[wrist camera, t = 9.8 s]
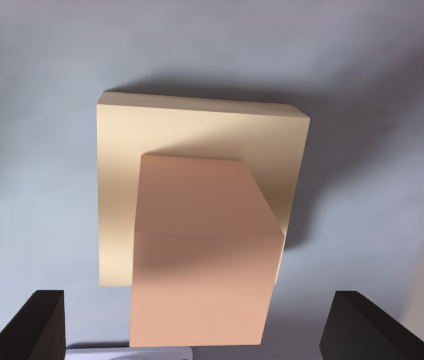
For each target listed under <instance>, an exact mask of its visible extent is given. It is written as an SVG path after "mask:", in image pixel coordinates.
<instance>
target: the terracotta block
mask: <svg viewBox="0 0 424 360" xmlns="http://www.w3.org/2000/svg"><path fill="white" fill-rule="evenodd" d="M284 239H285V235H284V234H283V232H282V230H281V228H280V226H279V224H278V222H277V220H276V219H275V217H274V215H273V213H272V211H271V209H270V207H269V205H268V204H267V202H266V200H265V198H264V196H263V194H262V192H261V191H260V189H259V187H258V185H257V183H256V181H255V179H254V177H253V176H252V174H251V172H250V170H249V168H248V166H247V164H246V162H245V161H238V160H222V159H206V158H189V157H173V156H157V155H141V162H140V173H139V184H138V194H137V205H136V216H135V227H134V245H133V270H132V295H131V320H130V344H129V347H162V346H213V345H260V343H261V339H262V334H263V330H264V326H265V321H266V317H267V313H268V308H269V304H270V300H271V295H272V291H273V287H274V282H275V278H276V274H277V269H278V265H279V261H280V256H281V252H282V248H283V243H284Z"/></svg>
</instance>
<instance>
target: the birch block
mask: <svg viewBox="0 0 424 360" xmlns="http://www.w3.org/2000/svg"><path fill="white" fill-rule="evenodd" d="M310 119H311V118H309V117H308V116H307V115H305V114H304V113H303V112H301V111H300V110H298V109H297V108H296V107H294V106H293V105H290V104H276V103H262V102H248V101H234V100H220V99H206V98H192V97H179V96H165V95H151V94H137V93H123V92H109V91H103V93H102V95H101V97H100V99H99V101H98V103H97V155H98V216H99V277H100V286H132V270H133V245H134V227H135V216H136V205H137V194H138V184H139V173H140V162H141V155H157V156H173V157H189V158H206V159H222V160H238V161H245V162H246V164H247V166H248V168H249V170H250V172H251V174H252V176H253V177H254V179H255V181H256V183H257V185H258V187H259V189H260V191H261V192H262V194H263V196H264V198H265V200H266V202H267V204H268V205H269V207H270V209H271V211H272V213H273V215H274V217H275V219H276V220H277V222H278V224H279V226H280V228H281V230H282V232H283V234H284V235H285V239H286V234H287V229H288V224H289V220H290V215H291V210H292V205H293V200H294V196H295V191H296V186H297V181H298V176H299V172H300V167H301V162H302V157H303V152H304V148H305V143H306V138H307V133H308V128H309V124H310ZM285 239H284V243H283V248H284V244H285ZM283 248H282V252H281V256H280V261H279V265H278V269H277V274H276V278H275V282H274V285H276V282H277V277H278V272H279V268H280V263H281V258H282V253H283Z"/></svg>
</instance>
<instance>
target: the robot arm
mask: <svg viewBox="0 0 424 360" xmlns="http://www.w3.org/2000/svg"><path fill="white" fill-rule="evenodd" d="M319 347H320V350H321V354H322V357H323V360H424V342H423V341H422V340H421V339H419V338H418V337H417V336H415V335H414V334H413V333H411V332H410V331H409V330H408V329H406V328H405V327H404V326H402V325H401V324H400V323H399V322H397V321H396V320H395V319H393V318H392V317H391V316H390V315H388V314H387V313H386V312H384V311H383V310H382V309H380V308H379V307H378V306H376V305H375V304H374V303H373V302H371V301H370V300H369V299H367V298H366V297H364V296H363V295H361V294H360V293H359V292H357V291H336V293H335V296H334V299H333V303H332V306H331V309H330V312H329V315H328V319H327V322H326V325H325V328H324V332H323V335H322V338H321V341H320V345H319ZM192 356H193V354H192V349H191V347H189V346H162V347H124V348H91V349H66V339H65V310H64V290H37V291H36V292H34V293H33V294H32V295H31V297H30V298H29V299H28V300H27V302H26V303H25V304H24V305H23V307H22V308H21V309H20V310H19V311H18V313H17V314H16V315H15V316H14V317H13V319H12V320H11V321H10V322H9V323H8V324H7V326H6V327H5V328H4V329H3V330H2V331H1V332H0V360H182V359H185V360H192Z"/></svg>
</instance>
